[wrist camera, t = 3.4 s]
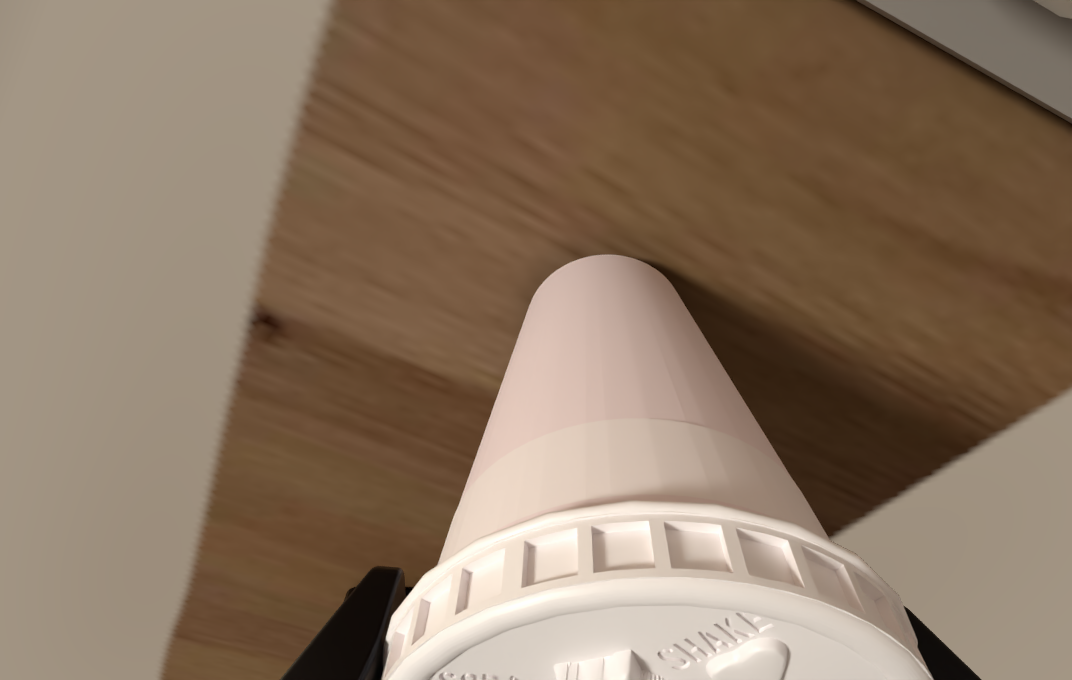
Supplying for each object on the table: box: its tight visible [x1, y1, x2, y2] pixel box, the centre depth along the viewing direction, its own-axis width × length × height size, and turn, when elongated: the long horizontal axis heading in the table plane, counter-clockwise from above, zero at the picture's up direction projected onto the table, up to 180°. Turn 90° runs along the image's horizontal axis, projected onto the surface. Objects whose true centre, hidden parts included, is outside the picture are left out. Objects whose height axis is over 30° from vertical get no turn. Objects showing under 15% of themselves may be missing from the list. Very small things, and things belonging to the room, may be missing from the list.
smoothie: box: [381, 255, 934, 680], centre depth 10 cm, size 6×6×14 cm
